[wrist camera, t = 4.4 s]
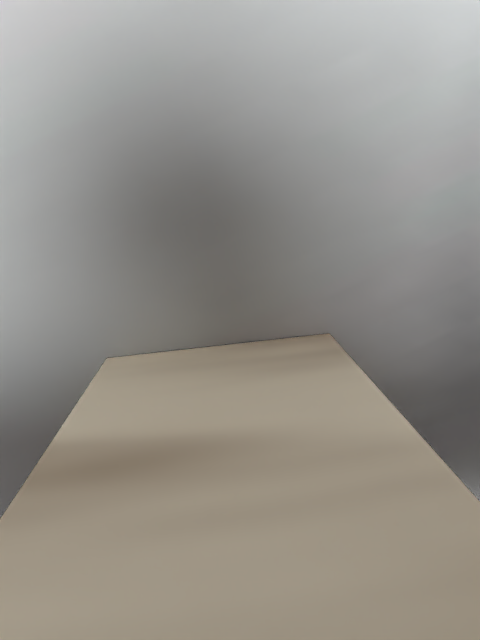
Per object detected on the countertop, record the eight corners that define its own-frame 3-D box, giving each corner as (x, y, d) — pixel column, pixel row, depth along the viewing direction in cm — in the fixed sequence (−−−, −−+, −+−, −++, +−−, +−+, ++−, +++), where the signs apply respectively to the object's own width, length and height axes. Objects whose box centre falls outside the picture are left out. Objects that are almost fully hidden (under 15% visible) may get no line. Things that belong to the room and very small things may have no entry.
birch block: (333, 510, 10) (562, 1088, 4) (144, 535, 10) (11, 1198, 3) (329, 333, 9) (706, 757, 2) (106, 358, 9) (-265, 920, 2)
